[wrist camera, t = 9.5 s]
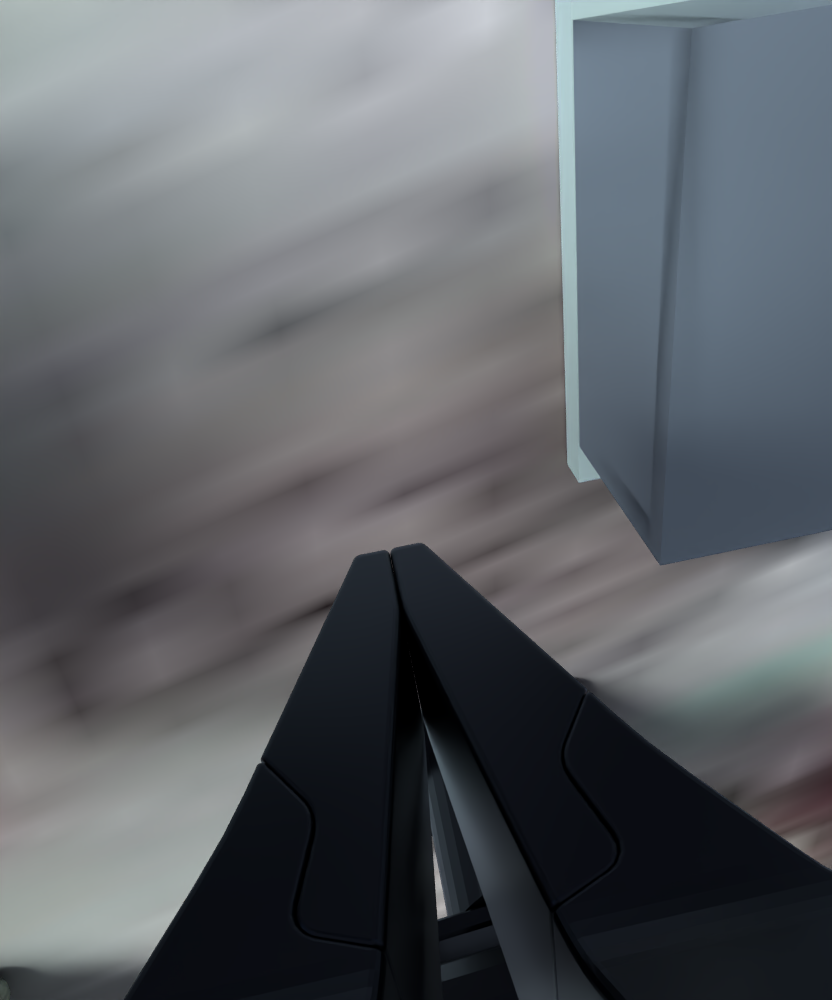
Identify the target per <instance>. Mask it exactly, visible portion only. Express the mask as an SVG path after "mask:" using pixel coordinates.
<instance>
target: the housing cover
mask: <svg viewBox="0 0 832 1000" xmlns="http://www.w3.org/2000/svg"><path fill="white" fill-rule="evenodd" d="M573 60H574V124H575V188H576V252H577V315H578V379H579V443H580V448H581V450H582V451H583V453H584V454H585V456H586V457H587V458H588V460H589V461H590V463H591V464H592V466H593V467H594V469H595V470H596V472H597V473H598V475H599V476H600V478H601V479H602V481H603V482H604V484H605V485H606V486H607V488H608V489H609V491H610V492H611V494H612V495H613V497H614V498H615V500H616V501H617V503H618V504H619V506H620V507H621V509H622V510H623V512H624V513H625V514H626V516H627V517H628V519H629V520H630V522H631V523H632V525H633V526H634V528H635V529H636V531H637V532H638V534H639V535H640V537H641V538H642V539H643V541H644V542H645V544H646V545H647V547H648V548H649V550H650V551H651V553H652V554H653V556H654V557H655V559H656V560H657V562H658V563H659V565H665V564H670V563H675V562H679V561H684V560H689V559H694V558H699V557H704V556H708V555H713V554H718V553H723V552H728V551H733V550H737V549H742V548H747V547H752V546H757V545H762V544H766V543H771V542H776V541H781V540H786V539H791V538H795V537H800V536H805V535H810V534H815V533H819V532H824V531H829V530H832V0H689V1H683V2H677V3H671V4H665V5H659V6H653V7H647V8H641V9H635V10H629V11H623V12H617V13H611V14H606V15H600V16H594V17H588V18H582V19H576V20H573Z"/></svg>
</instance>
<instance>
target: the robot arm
mask: <svg viewBox="0 0 832 1000" xmlns="http://www.w3.org/2000/svg"><path fill="white" fill-rule="evenodd" d="M390 555H391V557H390ZM391 560H392V562H391ZM392 566H393V567H392ZM393 571H394V572H393ZM411 661H412V662H411ZM412 666H413V667H412ZM413 671H414V672H413ZM414 676H415V677H414ZM415 681H416V682H415ZM416 686H417V687H416ZM417 690H418V692H417ZM418 695H419V697H418ZM419 700H420V702H419ZM420 705H421V708H420ZM421 710H422V714H421ZM261 762H262V763H260V764H258V765H257V767H256V769H255V772H254V774H253V776H252V778H251V780H250V782H249V785H248V787H247V789H246V791H245V793H244V795H243V797H242V799H241V801H240V803H239V805H238V807H237V809H236V811H235V813H234V815H233V817H232V819H231V821H230V823H229V825H228V827H227V829H226V831H225V833H224V835H223V837H222V838H221V840H220V842H219V844H218V845H217V847H216V849H215V850H214V852H213V854H212V856H211V857H210V859H209V861H208V862H207V864H206V866H205V867H204V869H203V871H202V873H201V874H200V876H199V878H198V879H197V881H196V883H195V885H194V886H193V888H192V890H191V891H190V893H189V894H188V896H187V898H186V899H185V901H184V903H183V904H182V906H181V907H180V909H179V911H178V912H177V914H176V916H175V917H174V919H173V920H172V922H171V924H170V925H169V927H168V929H167V930H166V932H165V933H164V935H163V937H162V938H161V940H160V942H159V943H158V945H157V946H156V948H155V950H154V951H153V953H152V955H151V956H150V958H149V959H148V961H147V963H146V964H145V966H144V968H143V969H142V971H141V972H140V974H139V976H138V977H137V979H136V981H135V982H134V984H133V985H132V987H131V989H130V990H129V992H128V994H127V995H126V997H125V998H124V1000H832V870H831V869H829V868H827V867H825V866H823V865H822V864H820V863H819V862H817V861H816V860H814V859H813V858H811V857H810V856H808V855H807V854H805V853H804V852H802V851H801V850H799V849H798V848H796V847H795V846H794V845H792V844H791V843H789V842H788V841H786V840H785V839H784V838H782V837H781V836H779V835H778V834H776V833H775V832H774V831H772V830H771V829H769V828H768V827H767V826H765V825H764V824H762V823H761V822H759V821H758V820H757V819H755V818H754V817H752V816H751V815H749V814H748V813H747V812H745V811H744V810H742V809H741V808H739V807H738V806H737V805H735V804H734V803H732V802H731V801H729V800H728V799H727V798H725V797H724V796H722V795H721V794H720V793H718V792H717V791H715V790H714V789H712V788H711V787H710V786H708V785H707V784H705V783H704V782H702V781H701V780H700V779H698V778H697V777H695V776H694V775H692V774H691V773H690V772H688V771H687V770H686V769H684V768H683V767H682V766H680V765H679V764H678V763H676V762H675V761H673V760H672V759H671V758H669V757H668V756H667V755H665V754H664V753H663V752H661V751H660V750H659V749H657V748H656V747H655V746H653V745H652V744H650V743H649V742H648V741H647V740H646V739H644V738H643V737H642V736H641V735H640V734H638V733H637V732H636V731H635V730H634V729H632V728H631V727H630V726H629V725H628V724H626V723H625V722H624V721H623V720H622V719H620V718H619V717H618V716H617V715H616V714H614V713H613V712H612V711H611V710H610V709H609V708H608V707H607V706H606V705H604V704H603V703H602V702H601V701H600V700H599V699H598V698H597V697H596V696H594V695H593V694H592V693H587V689H586V688H585V687H584V686H583V685H582V684H581V683H579V682H578V681H577V680H576V679H575V678H574V677H573V676H572V675H571V674H569V673H568V672H567V671H566V670H565V669H564V668H563V667H562V666H560V665H559V664H558V663H557V662H556V661H555V660H554V659H553V658H551V657H550V656H549V655H548V654H547V653H546V652H545V651H544V650H543V649H541V648H540V647H539V646H538V645H537V644H536V643H535V642H534V641H532V640H531V639H530V638H529V637H528V636H527V635H526V634H525V633H523V632H522V631H521V630H520V629H519V628H518V627H517V626H516V625H515V624H513V623H512V622H511V621H510V620H509V619H508V618H507V617H506V616H504V615H503V614H502V613H501V612H500V611H499V610H498V609H497V608H495V607H494V606H493V605H492V604H491V603H490V602H489V601H488V600H486V599H485V598H484V597H483V596H482V595H481V594H480V593H479V592H478V591H476V590H475V589H474V588H473V587H472V586H471V585H470V584H469V583H467V582H466V581H465V580H464V579H463V578H462V577H461V576H460V575H458V574H457V573H456V572H455V571H454V570H453V569H452V568H451V567H450V566H448V565H447V564H446V563H445V562H444V561H443V560H442V559H441V558H439V557H438V556H437V555H436V554H435V553H434V552H433V551H432V550H430V549H429V548H428V547H427V546H426V545H425V544H422V543H416V544H411V545H406V546H401V547H396V548H393V549H392V550H391V553H390V554H389V552H388V551H385V550H382V551H377V552H372V553H367V554H362V555H358V556H357V557H355V558H354V560H353V562H352V564H351V567H350V569H349V571H348V573H347V575H346V577H345V579H344V582H343V584H342V586H341V588H340V590H339V592H338V594H337V597H336V599H335V601H334V603H333V605H332V607H331V609H330V612H329V614H328V616H327V618H326V620H325V622H324V624H323V627H322V629H321V631H320V633H319V635H318V637H317V639H316V642H315V644H314V646H313V648H312V650H311V652H310V654H309V657H308V659H307V661H306V663H305V665H304V667H303V669H302V672H301V674H300V676H299V678H298V680H297V682H296V684H295V687H294V689H293V691H292V693H291V695H290V697H289V699H288V702H287V704H286V706H285V708H284V710H283V712H282V714H281V717H280V719H279V721H278V723H277V725H276V727H275V730H274V732H273V734H272V736H271V738H270V740H269V742H268V745H267V747H266V749H265V751H264V753H263V755H262V757H261ZM432 836H433V841H434V846H435V852H436V857H437V862H438V868H439V873H440V878H441V884H442V889H443V894H444V900H445V905H446V910H447V917H444V918H441V919H438V920H437V907H436V893H435V878H434V864H433V849H432Z"/></svg>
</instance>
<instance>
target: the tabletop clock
mask: <svg viewBox="0 0 832 1000" xmlns="http://www.w3.org/2000/svg"><path fill="white" fill-rule="evenodd" d="M9 998H10V988H9V986H8V984H7V982H6V981H5V980H4V979H3V978H1V977H0V1000H9Z"/></svg>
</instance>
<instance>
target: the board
mask: <svg viewBox="0 0 832 1000" xmlns="http://www.w3.org/2000/svg"><path fill="white" fill-rule="evenodd" d="M683 1H689V0H555V15H556V53H557V91H558V128H559V166H560V204H561V242H562V279H563V317H564V355H565V393H566V431H567V464H568V466H569V468H570V469H571V471H572V472H573V474H574V476H575V477H576V479H577V480H578V482H579V483H580V482H585V481H590V480H595V479H600V476H599V475H598V473H597V472H596V470H595V469H594V467H593V466H592V464H591V463H590V461H589V460H588V458H587V457H586V456H585V454H584V453H583V451H582V450H581V448H580V443H579V379H578V315H577V252H576V188H575V124H574V60H573V20H576V19H582V18H588V17H594V16H600V15H606V14H611V13H617V12H623V11H629V10H635V9H641V8H647V7H653V6H659V5H665V4H671V3H677V2H683Z"/></svg>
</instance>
